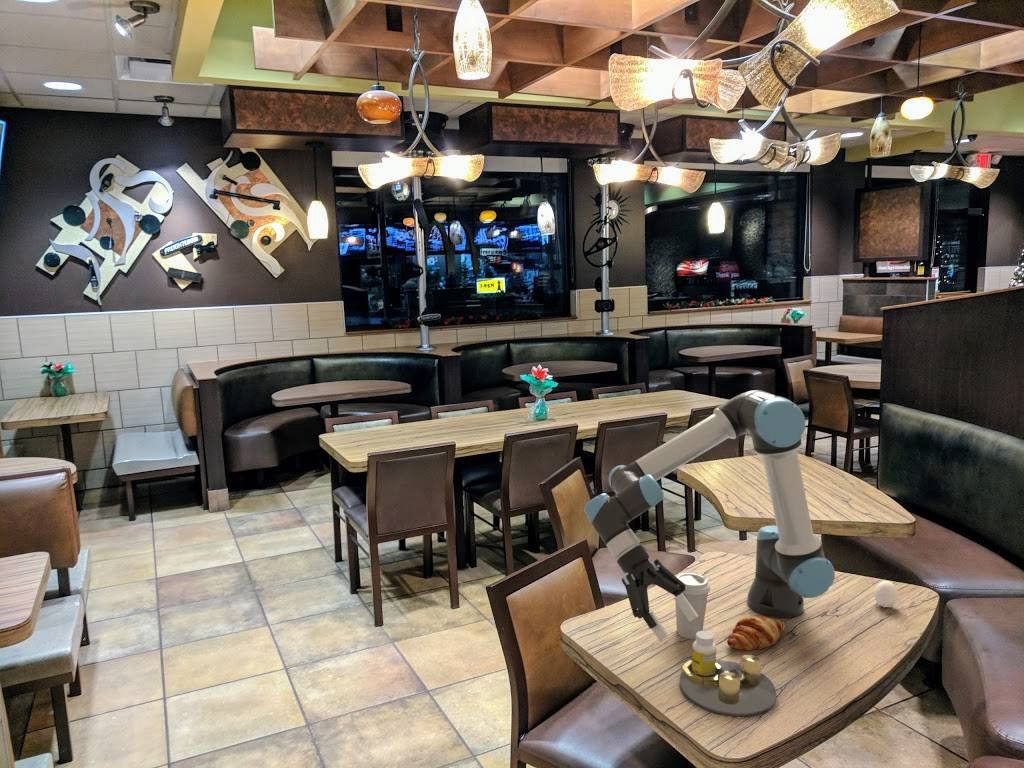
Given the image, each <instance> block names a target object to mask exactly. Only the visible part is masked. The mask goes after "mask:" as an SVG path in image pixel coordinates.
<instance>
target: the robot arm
mask: <svg viewBox="0 0 1024 768" xmlns="http://www.w3.org/2000/svg"><path fill="white" fill-rule="evenodd" d="M805 429H806V419H805V416H804V413H803V411H802V410H801V408H800V407H799V405H797V404H795V403H794V402H792V400H790V399H788V398H786V397H783V396H779V395H775V394H772V393H770V392H767V391H765V390H761V389H760V390H759V389H756V390H749V391H746V392H742V393H740V394H738V395H736V396H734V397H733V398H731V399H729V400H728V401H726V402H723V403H722V404H720V405H719V406H717V407H715V408H714V409H713V412H712V414H711V415H710V416H708V417H706V418H704V419H702V420H701V421H699V422H697V423H696V424H694V425H693V426H691V427H690V428H688V429H686V430H684V431H682V432H681V433H679V434H678V435H676V436H675V437H673V438H671V439H670V440H668V441H666V442H665V443H663V444H661V445H660V446H658V447H656V448H654V449H653V450H651V451H649V452H648V453H646V454H644V455H643V456H642V457H640V458H638V459H636V460H635V461H633V462H631V463H630V464H628V465H624V464H621V465H620V464H619V465H616V466H615V467H613V468H612V469H611V471H610V472H609V474H608V484H609V486H610V488H611V490H612V492H614V493H615V494H614V495H613V496H610V495H609V494H607V492H606V493H605V492H604V493H601V494H599V495H597V496H594V497H593V498H592V499H590V500H589V501H588V502H587V503H586V504H585V505H584V508H583V511H584V513H585V516H586V517H587V519H588V520H589V522H590V523H591V526H592V528H593V529H595V531H596V532H597V534H598V536H599V538H601V540H602V542H603V543H604V544H605V546H606V547H607V549H608V550H609V553H611V555H612V557H613V558H614V559H617V562H616V563H617V564H618V566H619V568H620V570H622V572H623V573H624V574H627V575H625V576H624V577H623V578H621V582H622V584H623V585H624V588H625V591H626V594H627V597H628V600H629V604H630V608H631V611H632V615H633V618H637V619H643V620H644V622H645V623H646V625H647V626H648V628H649V629H650V630H651V631H652V632H653V634H654V635H655V636H656V638H657V641H659V642H660V643H661V642H662V641H663V640H665V639H666V638H668V637H669V636H670V635H669V634H668V632H667V630H666V629H665V627H664V625H663V624H662V623H661V621H660V619H659V618H658V617H657V615H656V613H655V612H654V611H653V610H651V611H650V604H649V603H650V602H649V595H648V592H649V591H648V588H649V587H650V586H651V585H653V586H658V587H659V588H661V589H662V590H664V591H665V592H667V593H669V594H671V595H673V596H677V597H673V600H674V601H676V602H677V604H678V605H679V607H680V608H681V610H682V611H683V613H684V614H685V616H686V617H687V619H688V620H689V622H690V621H692V620H693V619H695V618H696V617H698V614H697V613H696V611H695V610H694V609H693V607H692V606H691V604H690V602H689V600H688V599H687V597H686V596H685V594H684V593H683V591H685V587H686V586H685V584H684V583H683V582H682V581H680V580H679V579H678V578H677V575H674V574H673V572H671V571H670V570H669V569H667V568H666V567H665V566H664V565H663V564H662V562H661V561H660V560H659V559H658V558H656V559H655V560H654V561H652V562H650V561H649V558H650V555H649V553H648V552H647V550H646V549H645V547H644V546H643V545H642V544H640V543H641V541H640V540H639V538H638V537H637V535H636V534H635V532H634V531H633V529H631V527H630V526H629V524H628V523H630V522H631V521H633V520H634V519H636V518H637V517H639V516H641V515H642V514H644V513H645V512H647V511H649V510H650V509H651V508H655V506H657V504H658V503H660V502H661V501H662V500H664V498H665V493H664V491H663V489H662V488H661V485H660V483H658V482H657V481H658V480H661V479H662V478H664V477H665V476H668V475H669V474H670V473H672V472H673V471H675V470H677V469H679V468H680V467H683V466H684V465H686V464H687V463H689V462H691V461H692V460H694V459H695V458H698V457H699V456H701V455H702V454H704V453H705V452H708V451H709V450H710V449H712V448H714V447H716V446H718V445H720V444H721V443H723V442H724V441H726V440H727V439H732V440H735V439H737V438H738V437H741V436H743V435H746V434H750V436H751V440H752V445H753V450H754V453H755V454H757V455H759V456H761V460H762V464H763V468H764V472H765V478H766V482H767V488H768V491H769V495H770V501H771V506H772V510H773V515H774V521H775V524H776V525H766V526H762V527H760V528H759V529H758V531H757V536H756V555H755V556H756V557H755V573H754V578H753V581H752V583H751V586H750V588H749V591H748V592H747V598H746V599H747V601H746V602H747V605H748V607H750V608H751V609H752V610H754V611H755V612H757V613H761V614H762V615H766V616H770V617H776V618H793V617H797V616H799V615H801V614H802V613H804V605H805V604H804V603H805V602H804V599H814V598H817V597H820V596H822V595H824V594H825V593H826V592H827V591H829V589H830V587H831V586H833V583H834V582H835V581H834V580H835V579H836V571H835V568H834V566H833V564H832V563H831V561H830V560H829V559H827V558H826V557H825V554H824V553H825V552H824V548H823V544H822V539H821V538H820V537H818V536H816V535H815V534H814V531H813V526H812V519H811V516H810V510H809V505H808V501H807V496H806V491H805V486H804V485H805V484H804V481H803V476H802V472H801V466H800V461H799V456H798V450H799V449H800V448H801V446H802V445H803V443H802V439H801V438H802V435H803V434H804V432H805ZM678 585H679V586H678Z"/></svg>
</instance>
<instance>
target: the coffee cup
mask: <svg viewBox="0 0 1024 768" xmlns="http://www.w3.org/2000/svg"><path fill="white" fill-rule="evenodd" d="M676 577H677V578H678V579H679V580H680V581H682V582H683V583H684V584H685V586H686V587H685V591H683V593H684V594H685V596H686V597H687V599H688V600H689V602H690V604H691V606H692V607H693V609H694V610H695V611H696V613H697V614H698V617H696V618H695V619H693V620H692V621H690V622H689V620H688V619H687V617H686V616H685V614H684V613H683V611H682V610H681V608H680V607H679V605H678V604H677V602H676V601H675V600H674V601H675V619H676V620H675V621H676V633H677V635H679V636H680V637H681V638H684V639H686V640H687V639H688V640H696V633H697V632H699V631H704V623H705V619H706V618H705V616H706V610H707V602H708V597H709V592H710V591H711V585H710V582H709V581H708V578H706V577H705V576H703V575H701V574H697V573H693V572H692V573H691V572H685V573H679V574H678V575H676ZM678 586H679V585H678ZM675 597H677V596H675ZM675 597H674V598H675Z"/></svg>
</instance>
